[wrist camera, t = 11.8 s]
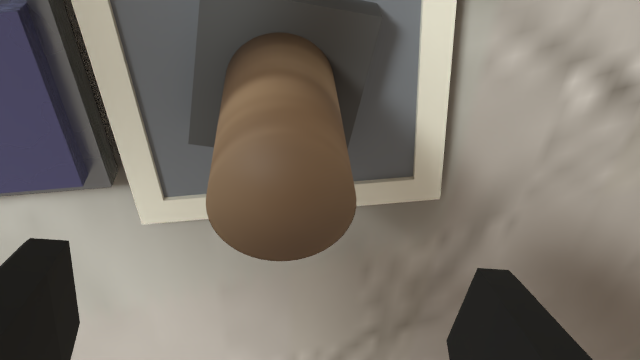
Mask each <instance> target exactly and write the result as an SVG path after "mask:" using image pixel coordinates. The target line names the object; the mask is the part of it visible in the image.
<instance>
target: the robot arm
mask: <svg viewBox="0 0 640 360" xmlns="http://www.w3.org/2000/svg"><path fill="white" fill-rule="evenodd" d="M79 324H80V321H79V313H78V306H77V298H76V291H75V284H74V276H73V269H72V261H71V254H70V247H69V241H64V240H49V239H34V238H30V239H29V240H27V241H26V242H25V243H23V244H22V245H21V246H20V247H19V248H18V249H17V250H16V251H15V252H14V253H13V254H12V255H11V256H10V257H9V258H8V259H7V260H6V261H5V262H4V263H3V264H2V265H1V266H0V360H70V359H71V356H72V352H73V348H74V344H75V340H76V336H77V332H78V328H79ZM447 345H448V352H449V358H450V360H592V358H591V357H590V356H589V355H588V354H587V353H586V352H585V351H584V350H583V349H582V348H581V347H580V346H579V345H578V344H577V343H576V342H575V341H574V340H573V338H572V337H571V336H570V335H569V334H568V333H567V332H566V331H565V330H564V329H563V328H562V327H561V326H560V324H559V323H558V322H557V321H556V320H555V319H554V318H553V317H552V316H551V315H550V314H549V313H548V311H547V310H546V309H545V308H544V307H543V306H542V305H541V304H540V303H539V302H538V301H537V299H536V298H535V297H534V296H533V295H532V294H531V293H530V292H529V291H528V290H527V289H526V288H525V286H524V285H523V284H522V283H521V282H520V281H519V280H518V279H517V278H516V277H515V276H514V275H513V274H512V273H511V272H510V271H509V270H498V269H483V268H477V271H476V273H475V275H474V278H473V280H472V282H471V285H470V287H469V289H468V292H467V294H466V296H465V299H464V301H463V303H462V306H461V308H460V310H459V313H458V315H457V317H456V320H455V322H454V324H453V327H452V329H451V331H450V334H449V336H448V338H447Z"/></svg>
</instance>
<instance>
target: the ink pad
mask: <svg viewBox="0 0 640 360" xmlns="http://www.w3.org/2000/svg"><path fill="white" fill-rule="evenodd" d="M117 172H118V169H117V166H116V162H115V159H114V156H113V153H112V150H111V147H110V144H109V141H108V138H107V135H106V132H105V129H104V126H103V122H102V119H101V116H100V113H99V110H98V107H97V104H96V101H95V98H94V95H93V92H92V89H91V85H90V82H89V79H88V76H87V73H86V70H85V67H84V64H83V61H82V58H81V55H80V52H79V49H78V45H77V42H76V39H75V36H74V33H73V30H72V27H71V24H70V21H69V18H68V15H67V12H66V8H65V5H64V2H63V0H0V196H10V195H22V194H34V193H45V192H57V191H69V190H81V189H93V188H105V187H112V184H113V182H114V179H115V177H116V174H117Z"/></svg>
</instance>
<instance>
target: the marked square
mask: <svg viewBox="0 0 640 360" xmlns="http://www.w3.org/2000/svg"><path fill="white" fill-rule="evenodd" d="M363 1H368V2H374V3H377V5H378V7H379V9H380V12H381V14H382V16H383V19H382V23H381V27H380V30H379V34H378V38H377V42H376V45H375V49H374V53H373V56H372V60H371V64H370V68H369V71H368V75H367V79H366V82H365V86H364V90H363V94H362V97H361V101H360V105H359V108H358V112H357V116H356V120H355V123H354V127H353V131H352V135H351V138H350V142H349V146H348V149H347V150H348V155H349V160H350V165H351V171H352V176H353V181H354V186H355V191H356V206H366V205H378V204H390V203H401V202H413V201H425V200H436V199H440V194H441V182H442V170H443V158H444V146H445V134H446V122H447V110H448V98H449V87H450V75H451V63H452V51H453V39H454V27H455V15H456V3H457V0H363ZM71 2H72V5H73V8H74V11H75V14H76V18H77V21H78V24H79V27H80V30H81V33H82V37H83V40H84V43H85V46H86V49H87V52H88V56H89V59H90V62H91V65H92V68H93V71H94V75H95V78H96V81H97V84H98V87H99V90H100V94H101V97H102V100H103V103H104V106H105V109H106V113H107V116H108V119H109V122H110V125H111V128H112V131H113V135H114V138H115V141H116V144H117V147H118V150H119V154H120V157H121V160H122V163H123V166H124V169H125V173H126V176H127V179H128V182H129V185H130V188H131V192H132V195H133V198H134V201H135V204H136V207H137V211H138V214H139V217H140V220H141V223H142V225H144V224H155V223H167V222H179V221H190V220H202V219H209V218H208V215H207V211H206V194H207V188H208V181H209V175H210V169H211V163H212V157H213V150H214V147H207V146H199V145H192V144H188V141H189V128H190V116H191V103H192V90H193V78H194V65H195V53H196V40H197V27H198V15H199V2H200V0H71Z"/></svg>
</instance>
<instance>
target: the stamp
mask: <svg viewBox="0 0 640 360" xmlns="http://www.w3.org/2000/svg"><path fill="white" fill-rule="evenodd" d="M382 19H383V16H382V14H381V12H380V9H379V7H378V5H377V3H374V2H368V1H363V0H200V2H199V15H198V27H197V40H196V53H195V65H194V78H193V90H192V103H191V116H190V128H189V141H188V144H192V145H199V146H207V147H214V150H213V157H212V163H211V169H210V175H209V181H208V188H207V194H206V211H207V215H208V218H209V221H210V223H211V225H212V227H213V229H214V230H215V231H216V233H217V234H218V235H219V236H220V237H221V239H222V240H223V241H225V242H226V243H227V244H228V245H229V246H231V247H233V248H234V249H236V250H237V251H239V252H242V253H244V254H246V255H249V256H251V257H255V258H259V259H263V260H270V261H290V260H298V259H302V258H306V257H309V256H312V255H315V254H317V253H319V252H321V251H323V250H325V249H327V248H328V247H330V246H331V245H333V244H334V243H335V242H337V241H338V240H339V239H340V238H341V237H342V236H343V234H344V233H345V232H346V231H347V229H348V228H349V226H350V224H351V222H352V220H353V217H354V215H355V210H356V191H355V186H354V181H353V176H352V171H351V165H350V160H349V155H348V150H347V149H348V146H349V142H350V138H351V135H352V131H353V127H354V123H355V120H356V116H357V112H358V108H359V105H360V101H361V97H362V94H363V90H364V86H365V82H366V79H367V75H368V71H369V68H370V64H371V60H372V56H373V53H374V49H375V45H376V42H377V38H378V34H379V30H380V27H381V23H382Z"/></svg>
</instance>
